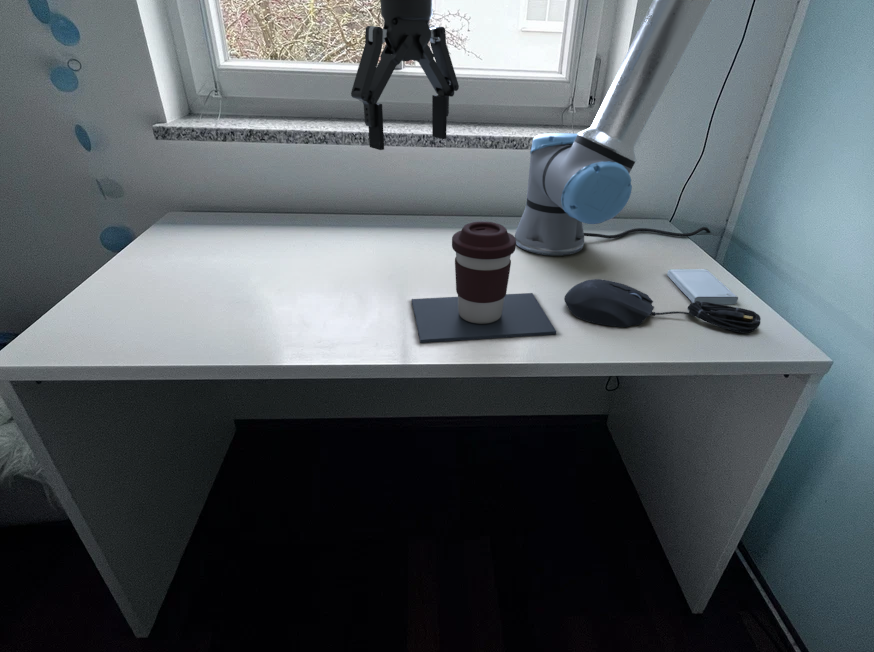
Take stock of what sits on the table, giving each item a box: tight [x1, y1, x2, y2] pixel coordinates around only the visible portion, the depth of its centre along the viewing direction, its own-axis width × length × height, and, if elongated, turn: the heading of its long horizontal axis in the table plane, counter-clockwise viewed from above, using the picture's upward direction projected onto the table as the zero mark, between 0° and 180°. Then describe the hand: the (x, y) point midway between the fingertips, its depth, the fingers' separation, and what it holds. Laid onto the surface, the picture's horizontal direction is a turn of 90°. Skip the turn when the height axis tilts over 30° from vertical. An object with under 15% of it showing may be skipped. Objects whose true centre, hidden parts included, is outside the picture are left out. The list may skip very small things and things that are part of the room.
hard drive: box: [666, 268, 739, 305], centre depth 104 cm, size 2×8×12 cm
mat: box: [411, 292, 557, 344], centre depth 92 cm, size 22×14×1 cm, turn 100°
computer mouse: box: [563, 278, 761, 334], centre depth 92 cm, size 10×32×6 cm, turn 83°
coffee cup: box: [451, 220, 517, 324], centre depth 88 cm, size 10×10×15 cm
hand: (409, 143), depth 90 cm, fingers open, 13 cm apart
